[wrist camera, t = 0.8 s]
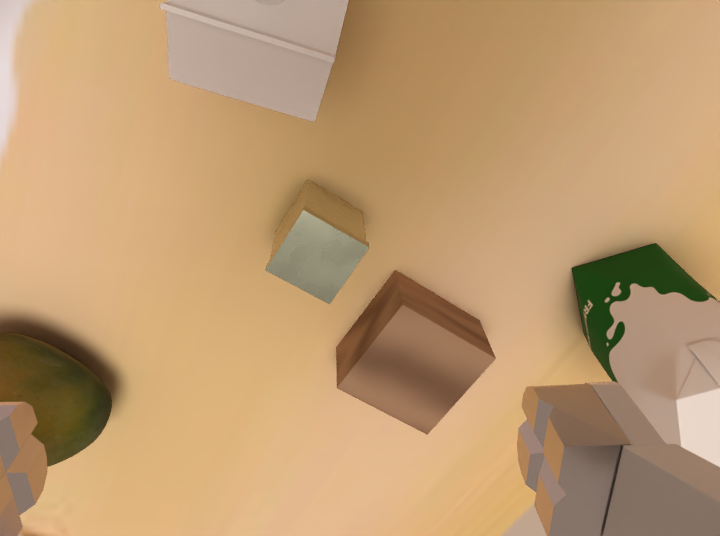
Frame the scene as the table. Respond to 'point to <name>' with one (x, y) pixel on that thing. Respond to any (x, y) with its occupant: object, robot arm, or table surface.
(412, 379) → the walnut block
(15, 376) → the fruit
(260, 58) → the milk carton
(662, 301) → the soya milk
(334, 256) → the grey wooden block
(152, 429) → the table surface
